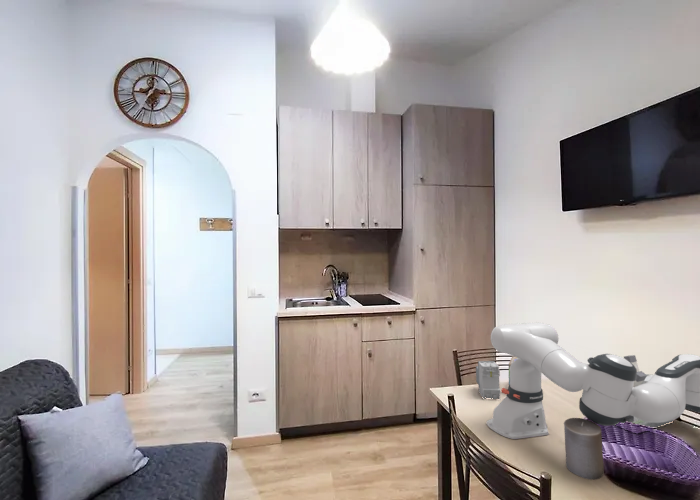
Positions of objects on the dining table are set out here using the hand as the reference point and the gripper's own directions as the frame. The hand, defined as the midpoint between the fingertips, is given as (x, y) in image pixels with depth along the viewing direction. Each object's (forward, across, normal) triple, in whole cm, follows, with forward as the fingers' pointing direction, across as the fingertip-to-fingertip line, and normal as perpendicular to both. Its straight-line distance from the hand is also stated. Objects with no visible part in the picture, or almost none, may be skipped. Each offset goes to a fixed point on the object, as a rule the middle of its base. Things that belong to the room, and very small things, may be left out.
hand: (639, 375), depth 147 cm
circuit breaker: (+42, -41, -14) cm, 60 cm away
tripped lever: (-1, -1, -10) cm, 10 cm away
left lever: (-2, -16, -10) cm, 19 cm away
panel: (-1, -8, -16) cm, 17 cm away
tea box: (+38, -25, -14) cm, 47 cm away
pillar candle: (-17, -55, -16) cm, 60 cm away
